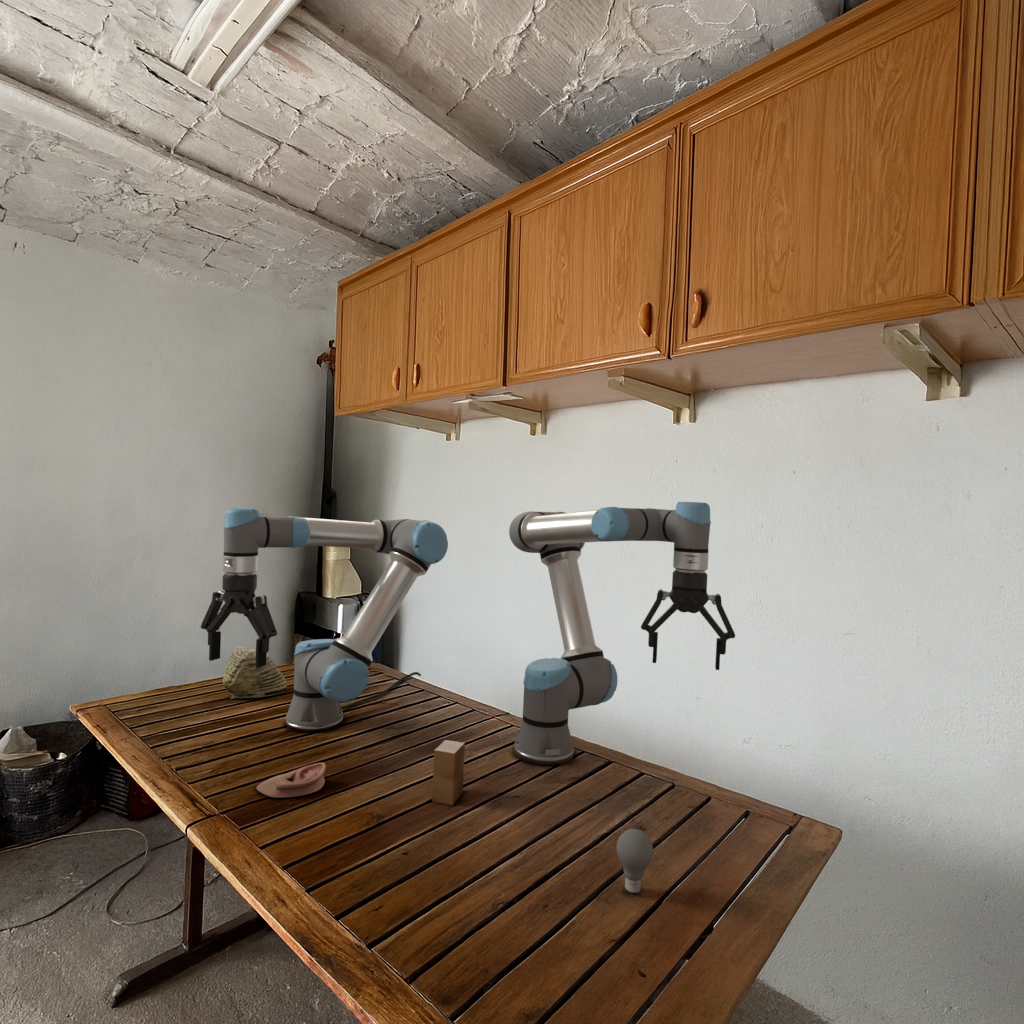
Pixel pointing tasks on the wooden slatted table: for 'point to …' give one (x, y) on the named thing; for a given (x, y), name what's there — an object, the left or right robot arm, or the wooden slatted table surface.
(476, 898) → the wooden slatted table surface
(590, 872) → the wooden slatted table surface
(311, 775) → the anatomical model
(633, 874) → the light bulb
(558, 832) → the wooden slatted table surface
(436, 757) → the brick
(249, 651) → the fossil
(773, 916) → the wooden slatted table surface
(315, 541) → the left robot arm
